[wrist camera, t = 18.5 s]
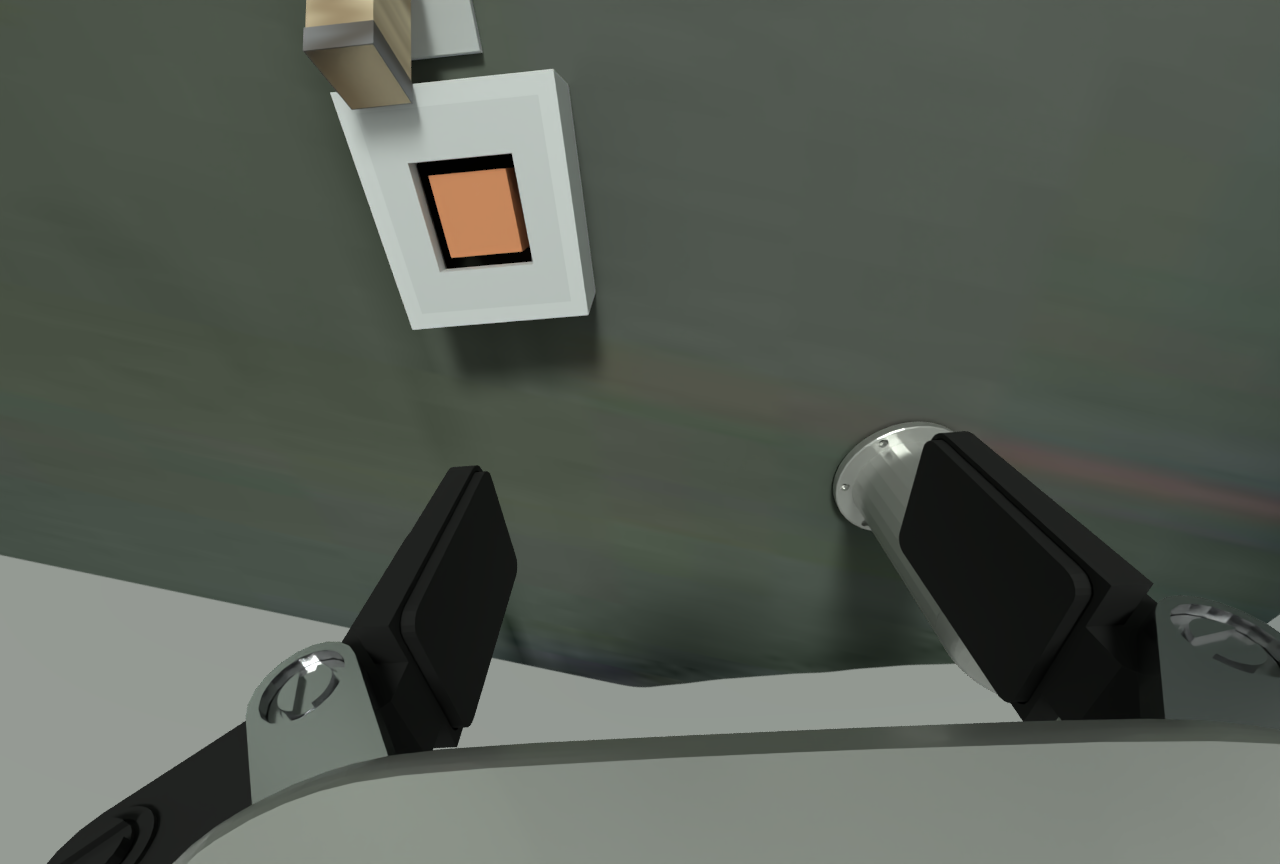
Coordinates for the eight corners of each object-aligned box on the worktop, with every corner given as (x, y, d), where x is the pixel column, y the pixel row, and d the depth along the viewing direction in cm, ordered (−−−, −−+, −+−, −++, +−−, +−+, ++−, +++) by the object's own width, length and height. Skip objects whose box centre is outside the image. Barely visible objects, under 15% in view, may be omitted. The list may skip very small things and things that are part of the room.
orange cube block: (523, 166, 31) (505, 168, 27) (537, 239, 33) (522, 251, 29) (457, 173, 31) (428, 175, 27) (475, 245, 34) (451, 258, 29)
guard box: (568, 84, 29) (553, 69, 24) (595, 292, 36) (588, 315, 31) (384, 104, 30) (330, 92, 24) (444, 305, 36) (412, 329, 31)
